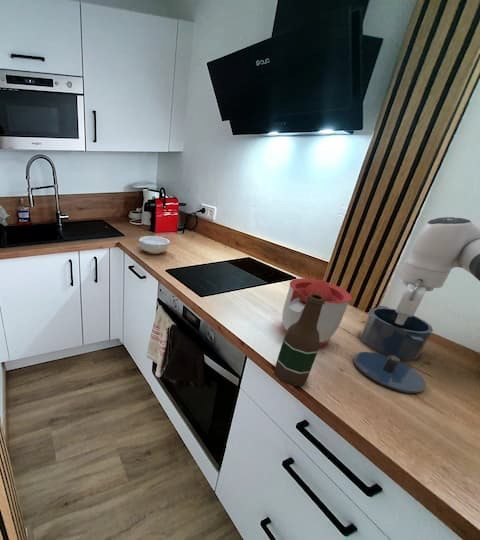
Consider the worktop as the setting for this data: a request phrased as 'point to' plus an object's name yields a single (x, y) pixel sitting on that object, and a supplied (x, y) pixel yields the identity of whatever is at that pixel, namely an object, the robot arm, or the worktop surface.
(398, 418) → the worktop surface
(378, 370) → the pot lid
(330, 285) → the citrus juicer
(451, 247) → the robot arm
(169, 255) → the worktop surface
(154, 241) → the cereal bowl
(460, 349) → the worktop surface
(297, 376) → the beer bottle
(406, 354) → the pot
